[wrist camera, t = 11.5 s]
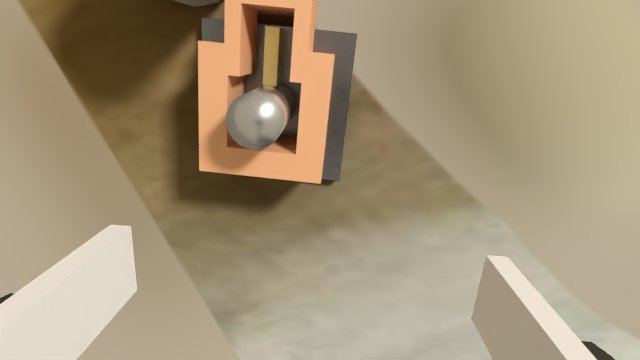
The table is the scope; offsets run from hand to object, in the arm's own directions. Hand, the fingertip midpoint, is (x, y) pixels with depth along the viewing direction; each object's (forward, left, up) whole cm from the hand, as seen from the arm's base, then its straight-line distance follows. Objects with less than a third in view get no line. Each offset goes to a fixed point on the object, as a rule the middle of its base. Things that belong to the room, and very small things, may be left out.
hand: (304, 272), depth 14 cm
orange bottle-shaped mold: (+5, +4, -19) cm, 20 cm away
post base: (+3, +4, -20) cm, 20 cm away
